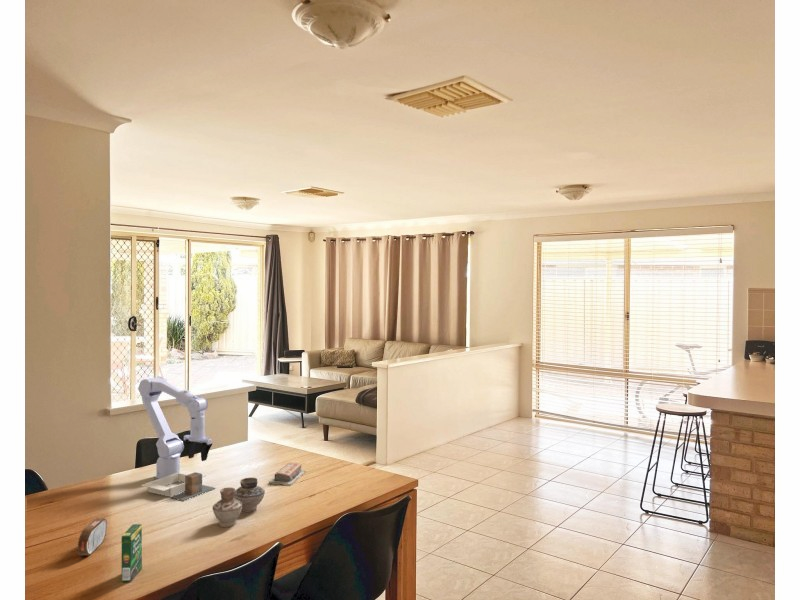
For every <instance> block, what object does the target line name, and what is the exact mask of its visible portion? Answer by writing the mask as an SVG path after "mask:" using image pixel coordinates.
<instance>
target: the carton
mask: <svg viewBox="0 0 800 600" xmlns="http://www.w3.org/2000/svg"><path fill="white" fill-rule="evenodd" d="M192 473H194V472H192V471H187V470H183V471H180V472H179V473H176V474H173V475H170V476H167V477H164V478H161V479H159V478H157V479H155V480H151V481H149V482H146V483H144V484H141V485H140V486H142V487H145V488H147V492H148V493H152V494H156V493H157V495H160V494H161V496H164V495H165V497H167V496H170V497H169V498H171V496H173V495H176V494H177V495H178V494H179V493H181V492H184V491H185V483H183V482H185V476H186V475H189V474H192ZM206 476H207V475H205V474H202V478H205V477H206ZM176 481H178V482H179V481H182V482H181V483H180V484H176V485H174V486H171V487H169V485H171V484H170V483H172V484H174V482H175V483H177V482H176ZM168 484H169V485H168ZM165 485H166V486H165Z"/></svg>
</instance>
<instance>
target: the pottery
mask: <svg viewBox="0 0 800 600" xmlns="http://www.w3.org/2000/svg"><path fill="white" fill-rule="evenodd" d="M239 483H240V486H239V487H237V488H235V487H223V488H221V489H220V490H219V492H220V498H221V499H219V500H218V501H216V503H214V504H213V505H212V512H213V514H214V516H215V518H216V519H217V520H218V521H219V524H218V525H219V527H222V528H228V527H229V528H231V527H233V526H235V525H237V519H238V518H239V517H240V514H241V513H242V512H245V511H250V512H254V511H256V510H257V509H258V505H259V504H260V503H261V502H262V500H263V499H264V496H265V492H266V491H265V489H264V488H262V487H261V486H260V485H258V478H256V477H244V478H243V479H242V478H241V480H240V482H239ZM255 509H256V510H255ZM253 510H254V511H253Z"/></svg>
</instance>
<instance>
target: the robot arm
mask: <svg viewBox="0 0 800 600" xmlns="http://www.w3.org/2000/svg"><path fill="white" fill-rule="evenodd" d="M137 389H138V392H139V394H140V396H141V401H142V402H141V403H142V404H143V406H144V408H145V411H146V414H147V415H148V417H149V419H150V422H151V424H152V426H153V428H154V431H155V433H156V434H157V437H158V439H157V442H156V443H155V445H156V448H157V454H158V458H157V460H156V462H155V464H156V466H155V467H156V469H155V470H156V474H155V476H154V478H155V479H161V478H164V477H167V476H170V475H173V474H176V473H179V472H181V470H180V468H181V466H180V463H181V455H182V452H183V451H184V449H185V450H186V452H187V457H188V459H192V458H194V457H195V449H196V448H195V447H196V445H197V443H201V444H199V445H198V448H199V451H200V458H201V459H200V460H201V461H202V462H205V461H207V459H208V454H209V451H210V449H211V447H212V446H213V440H212V438H209V437H207V436H206V434H205V433H206V427H205V426H206V410H207V409H208V406H209V404H208V400H207V399H206V398H205V397H204V396H201V397H200V396H199V397H198V395H197V394H195V395H194V394H193V393H191V392H190V391H189V390H188V389H181V390H180V388H179V389H178V388H177V387H176V386H174V385H172V384H171V383H170V382H168V380H167V378H163V376H157V377H152V378H144V379H141V380H140V381H139V385H138V387H137ZM162 393H165V394H167V395H169V396H171V397H173V398H175V400H176V402H177V403H178V404H180V405H182V406H184V407H186V408H187V411H188V412H189V413H188V414H189V418H190V422H189V423H190V424H189V425H190V426H189V427H190V429H189V430H190V434H185V435H183V440H182V439H181V438H179V435H178V434H175V433H173V432H172V430H171V428H170V426H169V423H168V421H167V420H166V417H165V416H164V412H163V410H162V409H161V407H160V404H159V402H158V399H159V397H160V396H161V395H162Z"/></svg>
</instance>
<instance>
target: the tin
mask: <svg viewBox="0 0 800 600" xmlns="http://www.w3.org/2000/svg"><path fill="white" fill-rule="evenodd" d="M107 523H108V521H107V519H106V518H104V517H95V518H93V520H92V521H90V523H88V524H87V525H85V526H84V527H83V529H82V531H81V532H80V534H79V537H78V541H77V554H78V555H79V556H87V557H88V556H91V555H92V554H93V553H94V552H95V551H96V550H97V549H98V548H99V547H100V546H101V545H102V544H103V543H104V541H105V538H106V536H107V528H108V527H107V525H108V524H107Z"/></svg>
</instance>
